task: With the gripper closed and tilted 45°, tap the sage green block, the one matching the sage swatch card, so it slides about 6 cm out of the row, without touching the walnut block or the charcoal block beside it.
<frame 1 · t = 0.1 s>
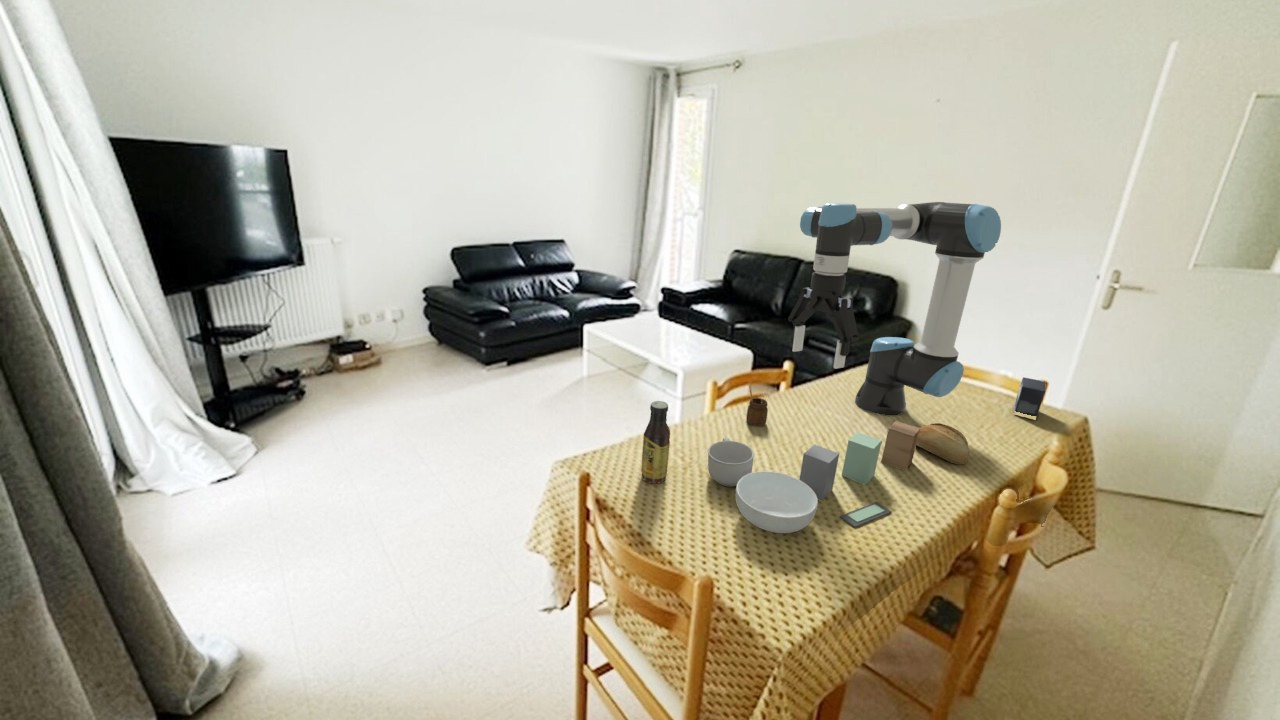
hand: (817, 358, 128), 28 cm above the table, tool pointing down, fingers open, 13 cm apart
cereal bowl: (772, 520, 113), on the table
charcoal block: (814, 490, 124), on the table
sage block: (857, 475, 131), on the table
bread roll: (937, 454, 143), on the table
swatch card: (865, 515, 115), on the table
sauce bottle: (654, 478, 126), on the table
walnut block: (896, 462, 138), on the table
teacup: (727, 476, 128), on the table
utensil holder: (755, 423, 157), on the table
small box: (1024, 413, 171), on the table
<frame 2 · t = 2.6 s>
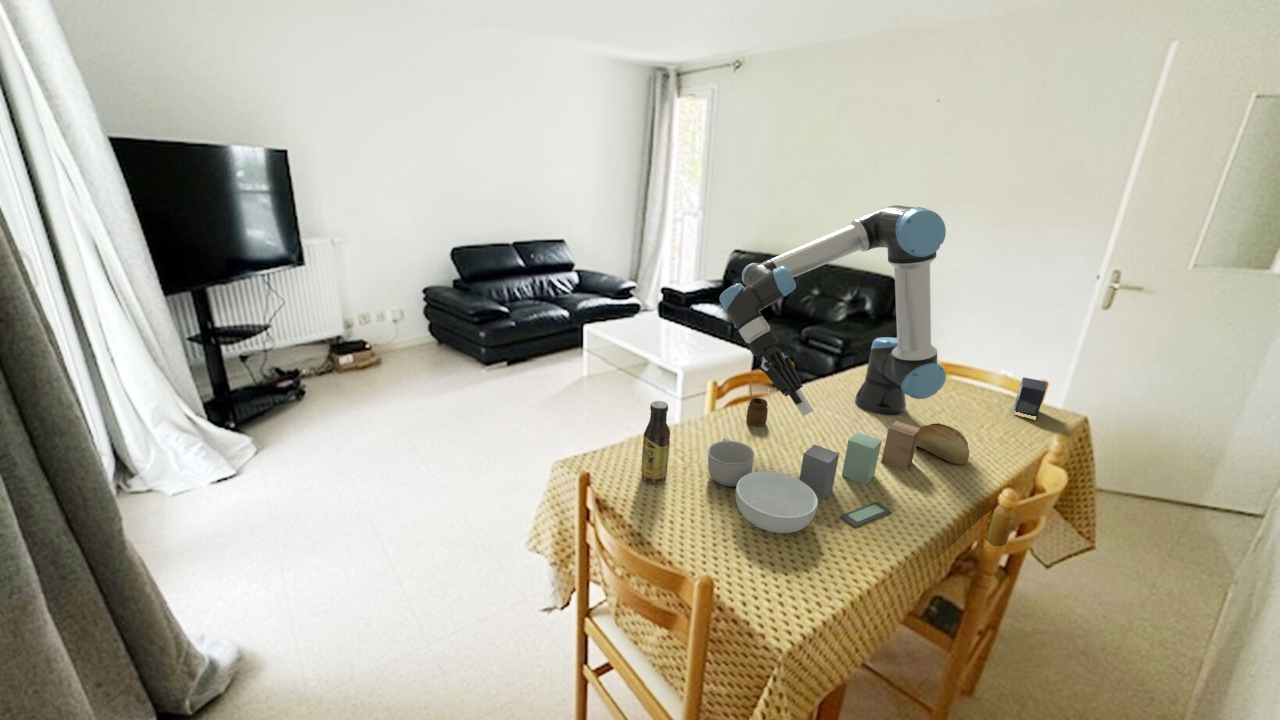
hand: (808, 413, 135), 12 cm above the table, tool tilted 45°, fingers closed
nothing on the table moved.
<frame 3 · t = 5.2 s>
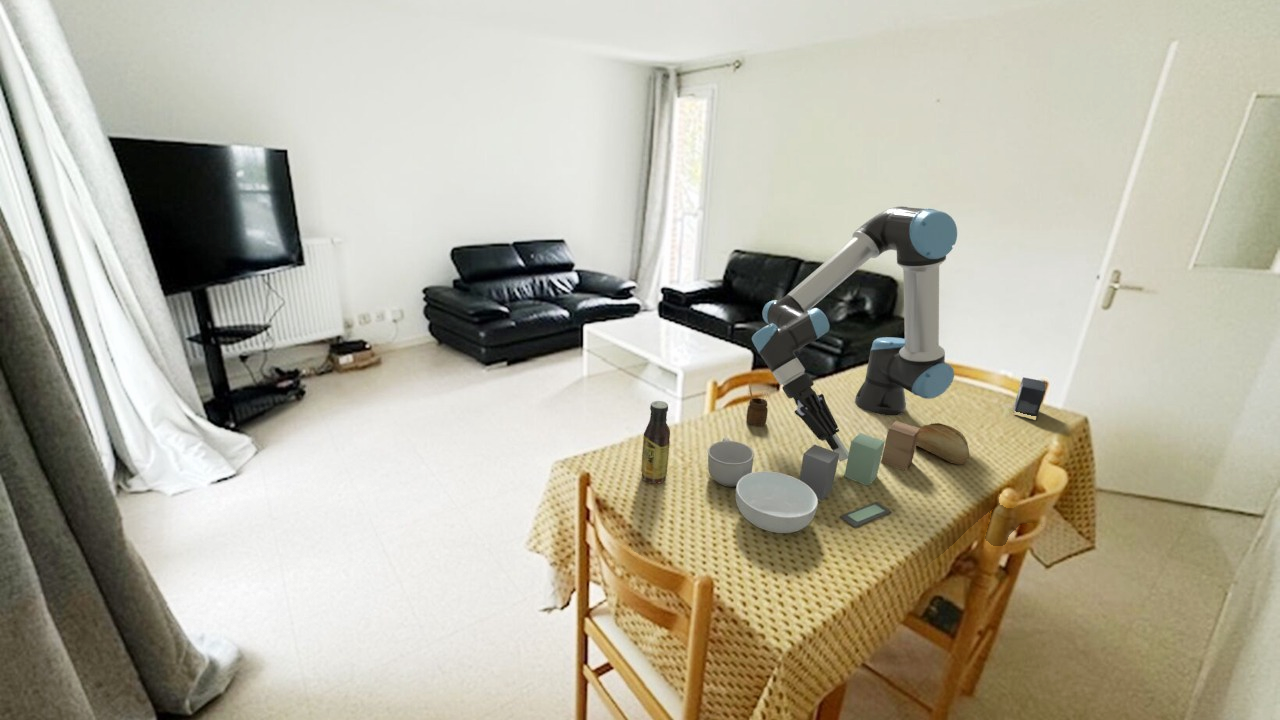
hand: (845, 458, 131), 3 cm above the table, tool tilted 45°, fingers closed
nothing on the table moved.
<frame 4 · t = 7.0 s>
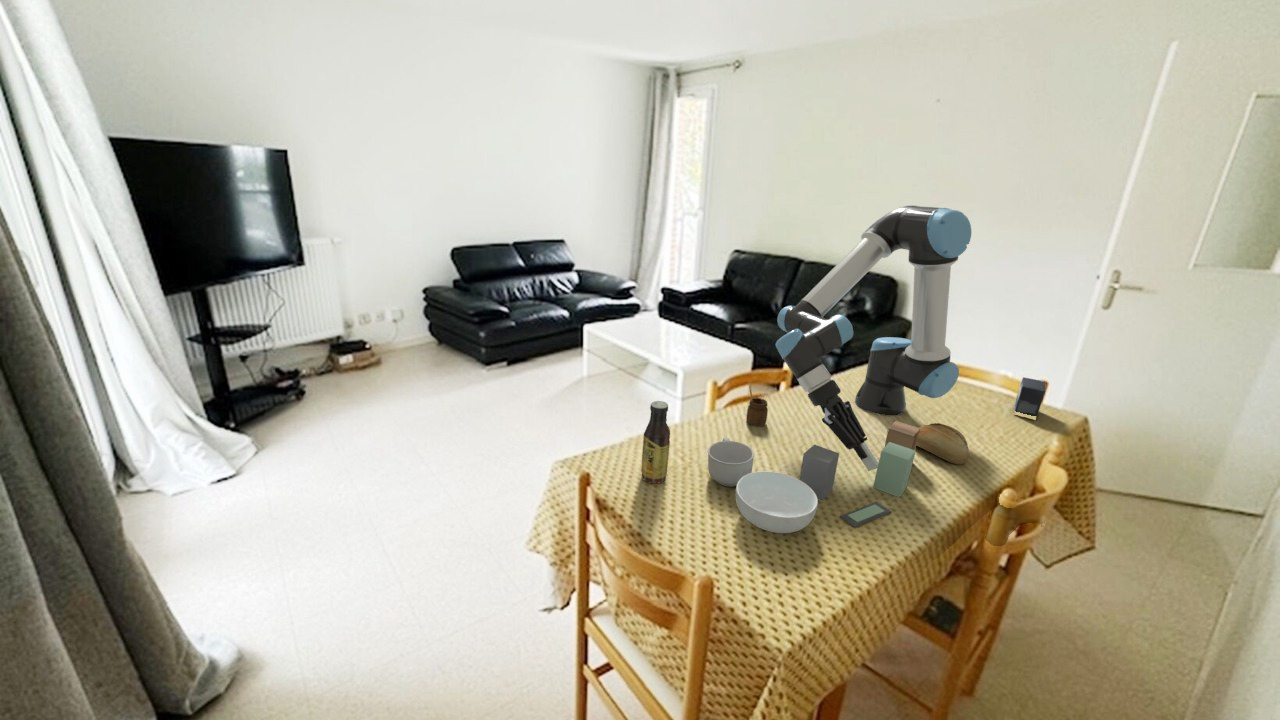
hand: (874, 468, 127), 4 cm above the table, tool tilted 45°, fingers closed
sage block: (889, 487, 126), on the table, touching gripper
everything else where it was.
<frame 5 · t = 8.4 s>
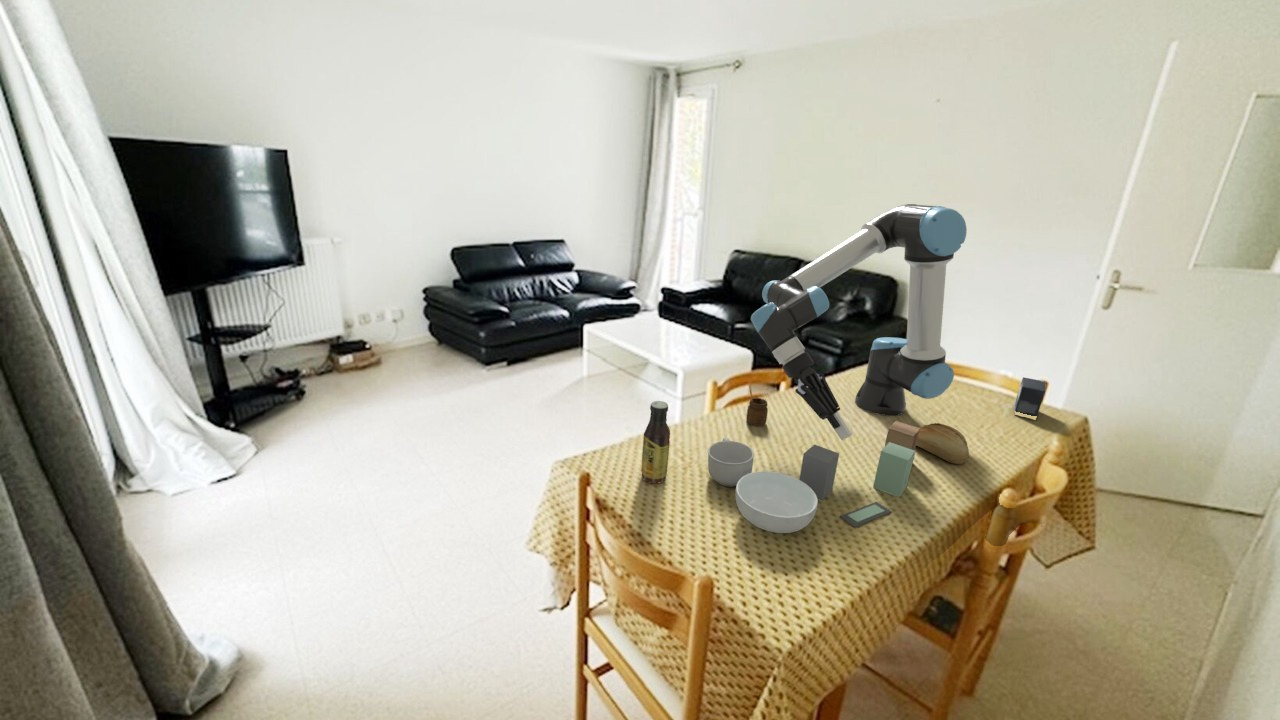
hand: (847, 437, 130), 9 cm above the table, tool tilted 45°, fingers closed
sage block: (889, 487, 126), on the table
everything else where it was.
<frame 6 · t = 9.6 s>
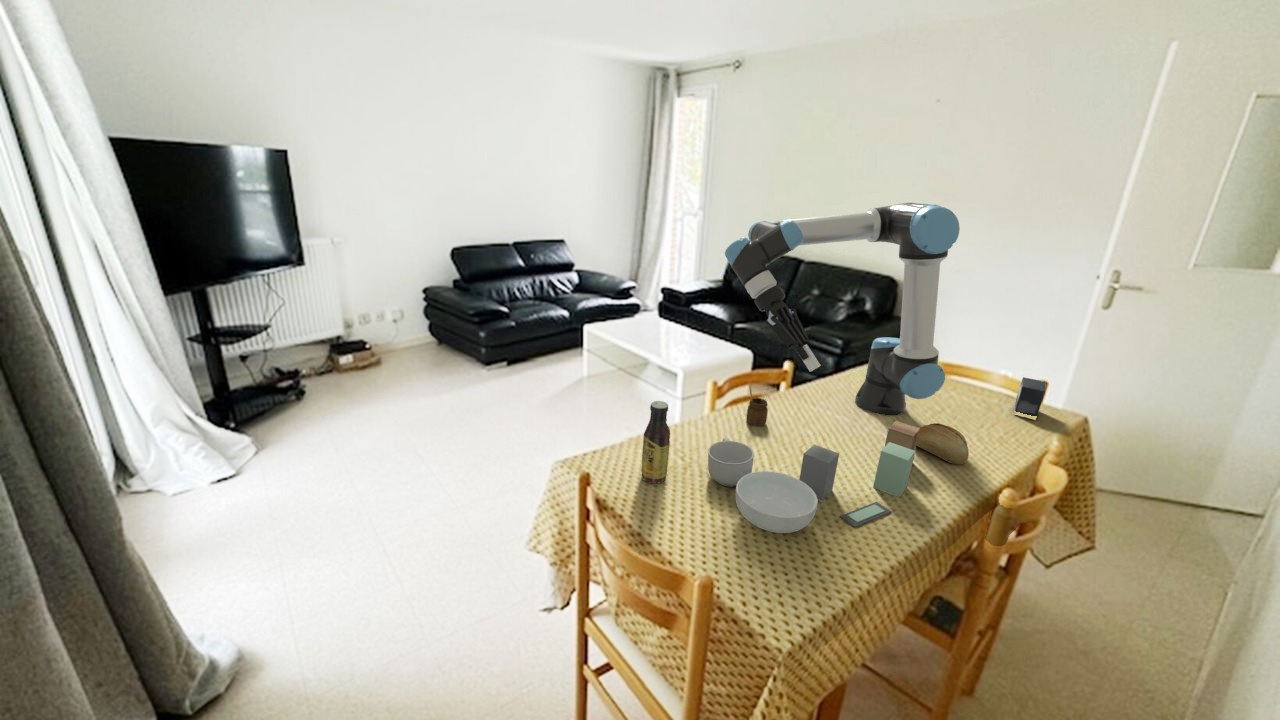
hand: (815, 368, 133), 24 cm above the table, tool tilted 45°, fingers closed
nothing on the table moved.
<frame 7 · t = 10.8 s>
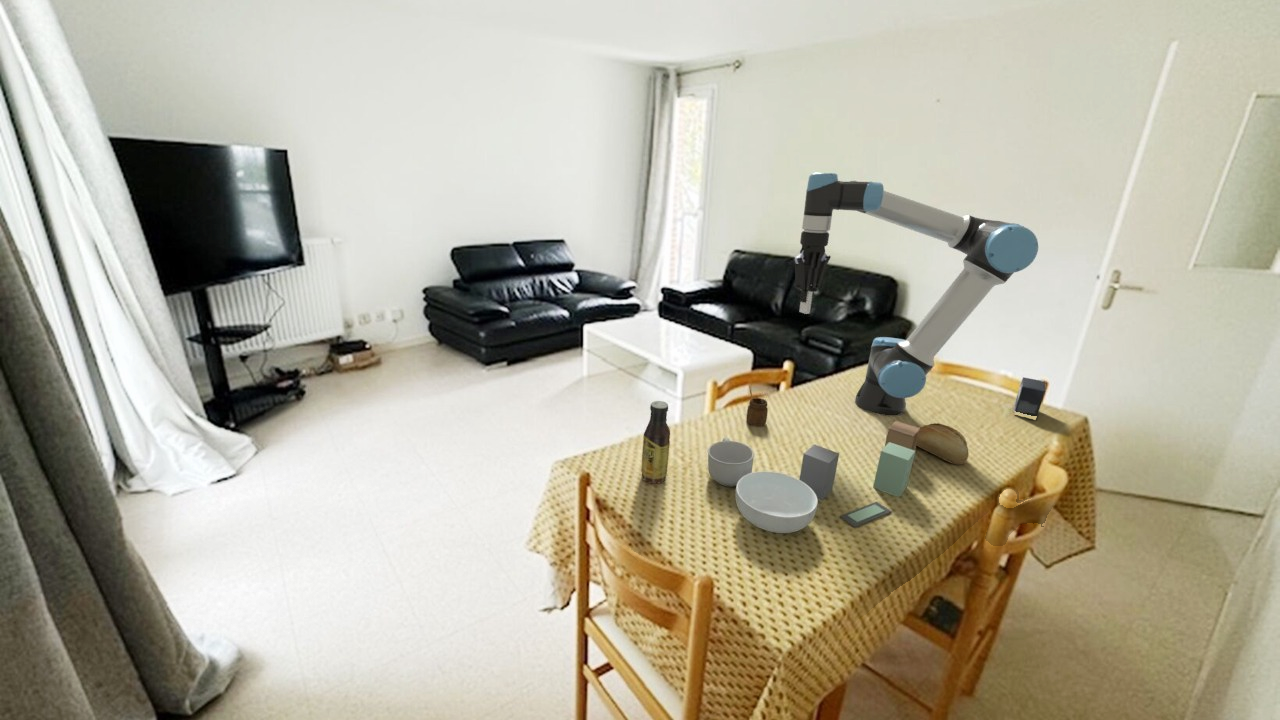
hand: (804, 312, 155), 32 cm above the table, tool pointing down, fingers closed
nothing on the table moved.
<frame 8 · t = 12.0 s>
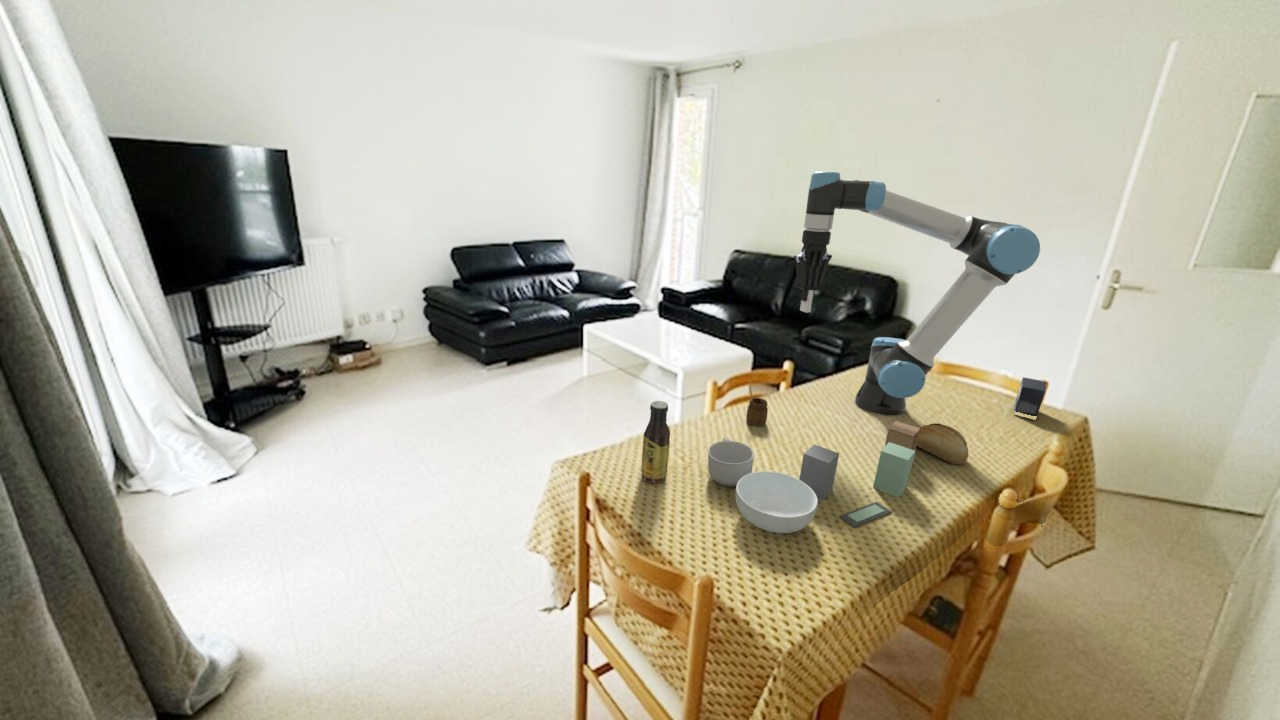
hand: (805, 311, 155), 32 cm above the table, tool pointing down, fingers closed
nothing on the table moved.
at the end: sage block moved 7.6 cm from its start; walnut block moved 0.1 cm from its start; charcoal block moved 0.1 cm from its start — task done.
